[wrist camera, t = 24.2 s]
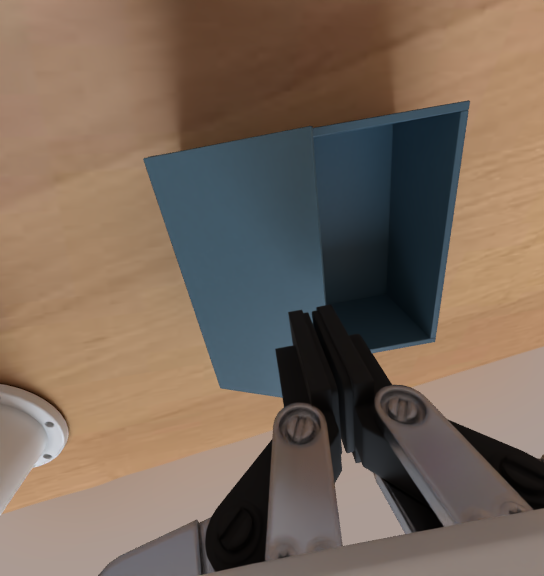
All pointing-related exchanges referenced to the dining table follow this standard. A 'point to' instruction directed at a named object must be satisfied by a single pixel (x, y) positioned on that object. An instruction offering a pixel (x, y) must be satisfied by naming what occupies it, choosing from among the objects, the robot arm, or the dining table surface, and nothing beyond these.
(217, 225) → the flap
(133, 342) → the dining table surface
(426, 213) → the carton
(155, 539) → the robot arm
